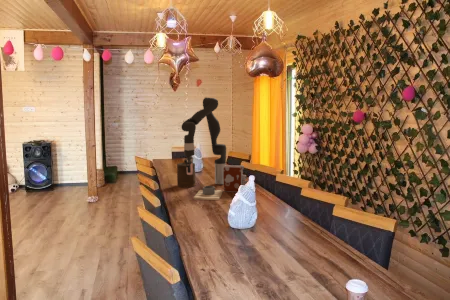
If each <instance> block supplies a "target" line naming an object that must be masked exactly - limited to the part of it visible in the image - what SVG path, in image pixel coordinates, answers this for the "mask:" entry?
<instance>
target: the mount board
mask: <svg viewBox="0 0 450 300" xmlns="http://www.w3.org/2000/svg"><path fill="white" fill-rule="evenodd" d="M223 193H224V189H222V190H221V189H217V190H216V189H215V194H214V195H204V194H203V189H199V190H198V191H197V193H196V194H195V195H194V196H193V200H194V201H195V200H197V201H199V200H201V201H207V200H208V201H219V200H220V199H221V197H222V195H223Z"/></svg>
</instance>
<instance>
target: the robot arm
mask: <svg viewBox="0 0 450 300" xmlns="http://www.w3.org/2000/svg"><path fill="white" fill-rule="evenodd" d="M218 106H219V100H218V99H217V98H215V97H204V98H203V99H202V109H201V110H198V111H196V112H195V113H194V114H193V115H192V116H191V117H190V118H188V119H186V120H185V121H183V122H182V125H181V129H182V131H183V132H187V134H185V135H184V138H183V142H184V145H183V151H184V152H183V155H184V157H186V158H185V159H186V167H187V171H188V173H190V172H191V168H190V167H191V163H194V157H193V156H195V140H194V139H195V134H196V130H197V129H196V128H197V127H196V126H197V125H199V123H200V122H202V120H204V118H205V117H206V121H207V126H208V131H209V136H210V141H211V148H212V149H211V150H212V154H213V155H215V156H220V157H219V158H216V159H214V184H216V185H223V168H224V166H226V165H227V162H226V160H227V146H226V144H224V143H218V142H217V141H218V140H217V139H218V137H219V136H220V134H221V125H220V122H219V120H218V119H217V117H216V116H215V115H214V113H213V112H214V111H215V110H216V109H217V108H218ZM188 164H189V165H188Z"/></svg>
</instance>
